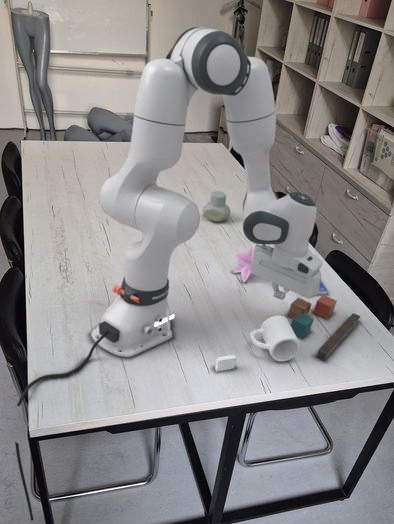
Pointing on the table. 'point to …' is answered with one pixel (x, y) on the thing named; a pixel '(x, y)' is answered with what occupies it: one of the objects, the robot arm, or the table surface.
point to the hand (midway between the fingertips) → (278, 297)
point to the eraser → (225, 363)
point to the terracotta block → (324, 306)
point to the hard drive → (322, 289)
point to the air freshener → (217, 207)
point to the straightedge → (338, 337)
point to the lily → (244, 262)
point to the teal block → (301, 325)
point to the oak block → (299, 307)
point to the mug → (277, 338)
